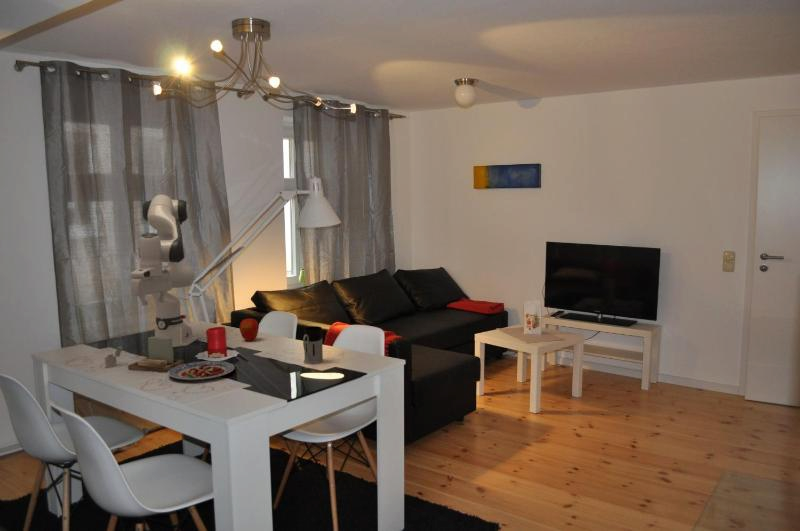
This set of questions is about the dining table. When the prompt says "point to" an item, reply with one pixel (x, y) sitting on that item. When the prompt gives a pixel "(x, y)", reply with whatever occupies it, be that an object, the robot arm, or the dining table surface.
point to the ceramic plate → (201, 370)
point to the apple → (249, 329)
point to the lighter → (112, 358)
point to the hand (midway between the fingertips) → (153, 303)
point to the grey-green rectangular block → (160, 348)
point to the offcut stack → (152, 362)
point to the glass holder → (313, 345)
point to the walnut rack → (154, 368)
